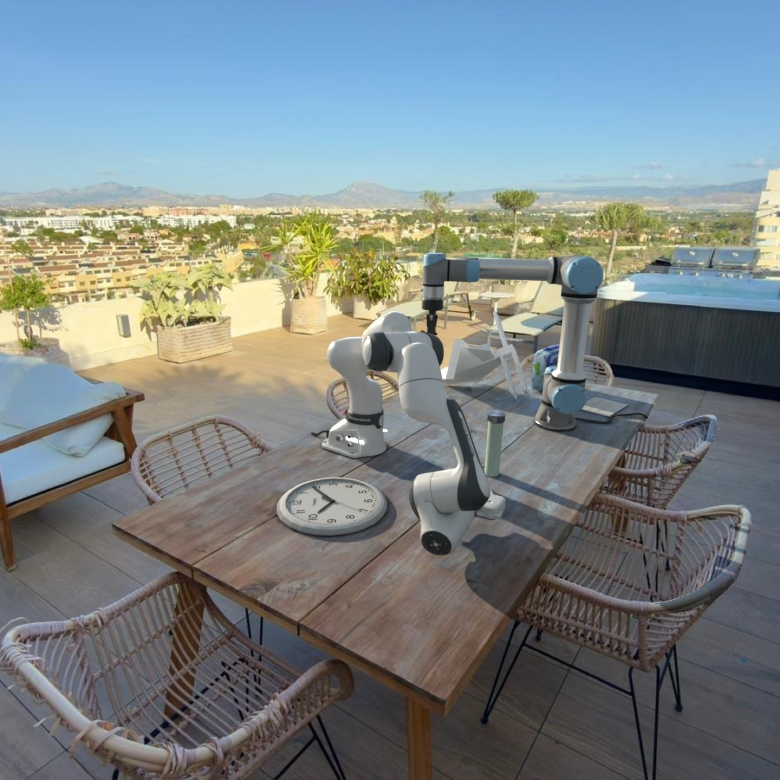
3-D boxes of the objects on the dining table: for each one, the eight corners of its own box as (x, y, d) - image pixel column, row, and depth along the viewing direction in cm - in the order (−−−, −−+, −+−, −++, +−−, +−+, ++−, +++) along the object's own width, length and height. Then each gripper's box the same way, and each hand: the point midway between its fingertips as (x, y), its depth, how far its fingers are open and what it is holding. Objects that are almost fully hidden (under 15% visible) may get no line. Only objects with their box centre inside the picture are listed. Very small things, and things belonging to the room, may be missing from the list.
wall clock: (392, 527, 129) (268, 531, 127) (391, 533, 130) (269, 537, 127) (383, 473, 158) (282, 475, 155) (383, 478, 158) (282, 480, 156)
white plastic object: (461, 429, 252) (437, 405, 227) (444, 352, 274) (420, 323, 250) (535, 404, 240) (518, 377, 215) (510, 326, 262) (492, 293, 237)
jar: (484, 476, 161) (489, 416, 155) (484, 470, 165) (488, 411, 159) (499, 477, 161) (504, 417, 155) (498, 471, 165) (503, 412, 159)
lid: (487, 423, 155) (488, 415, 155) (486, 417, 160) (487, 410, 160) (505, 424, 155) (506, 416, 154) (504, 418, 160) (504, 410, 159)
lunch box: (547, 397, 237) (552, 352, 231) (526, 391, 245) (531, 348, 238) (574, 386, 255) (580, 344, 249) (554, 381, 262) (559, 340, 256)
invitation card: (608, 416, 214) (573, 407, 224) (608, 416, 214) (573, 408, 224) (628, 404, 229) (594, 396, 238) (628, 405, 229) (594, 397, 238)
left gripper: (500, 509, 124) (512, 484, 136) (419, 490, 132) (437, 469, 144) (498, 532, 126) (510, 506, 138) (418, 512, 133) (436, 489, 146)
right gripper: (424, 293, 195) (422, 349, 202) (419, 302, 172) (417, 365, 178) (444, 294, 195) (441, 350, 201) (442, 303, 171) (439, 366, 177)
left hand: (472, 487), depth 141 cm, fingers open, 8 cm apart
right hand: (430, 357), depth 190 cm, fingers open, 13 cm apart
